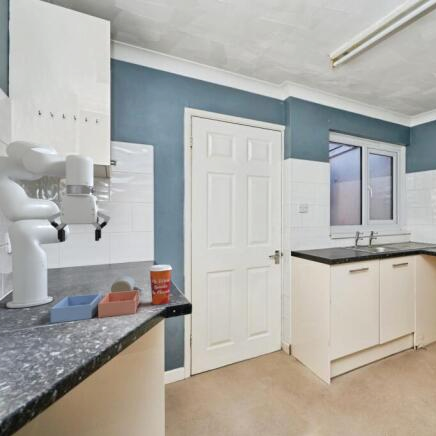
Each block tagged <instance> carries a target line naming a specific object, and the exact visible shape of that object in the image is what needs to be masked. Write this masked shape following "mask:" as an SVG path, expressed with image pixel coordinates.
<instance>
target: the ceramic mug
mask: <svg viewBox="0 0 436 436" xmlns="http://www.w3.org/2000/svg"><path fill="white" fill-rule="evenodd" d="M134 290H140V296H141V295H142V294H143V290H142V289H141V288H140V287H138V286H136V281H135V280H134V278H133V277H131V276H128V275H121V276H119V277H117V278H116V280H114V282H113V283H112V285H111V287H110V293H112V292H123V291H134Z"/></svg>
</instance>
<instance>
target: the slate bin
mask: <svg viewBox="0 0 436 436" xmlns="http://www.w3.org/2000/svg"><path fill="white" fill-rule="evenodd" d="M102 299H103V294H102V293H101V292H100V293H92V294H80V295H78V294H77V295H69V296H65V297H64V298H63V299H61V300H60V301H58V302H57V303H56V304H55V305H54V306H52V307H51V308H50V324H55V323H64V322H65V323H66V322H73V321H74V322H75V321H81V320H88V319H89V320H90V319H92V318H94V317H95V315H96V314H97V313H98V304H99V303H100V301H101V300H102ZM84 302H85V305H79V304H80V303H84Z"/></svg>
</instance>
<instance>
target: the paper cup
mask: <svg viewBox="0 0 436 436" xmlns="http://www.w3.org/2000/svg"><path fill="white" fill-rule="evenodd" d="M172 269H173V267H172V266H171V265H170V264H155V265H151V266H150V268H149V269H148V272H149V277H150V287H151V288H150V291H151V303H152V305H158V306H159V305H165V304H168V303H170V292H171V277H172Z"/></svg>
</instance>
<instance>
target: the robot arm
mask: <svg viewBox="0 0 436 436" xmlns="http://www.w3.org/2000/svg"><path fill="white" fill-rule="evenodd" d="M5 152H6V155H7V156H6V155H0V209H1V211H2V214H4V217H5V218H6V219H7V221H9V222H12V223H11V224H10V225H9V226H8V229H7V234H8V239H9V242H10V247H11V263H12V264H11V268H12V269H11V270H12V272H11V273H12V274H11V277H12V279H11V280H12V300H11V301H8V302H7V303H6V308H8V309H21V308H29V307H30V308H31V307H36V306H41V305H42V306H43V305H45V304H48V303H51V302H53V301H54V298H53V296H48V255H47V252H46V251H45V250H44V249H43V248H42V247H41V246H40V245H48V244H61V243H65V242H66V241H67V240H68V239H69V237H70V228H69V225H93V227H95V230H94V241H95V242H99V241H100V240H101V239H102V229H103V228H104V227H106V226H107V225H108V223H109V222H110V220H111V216H109V215H107V214H104V213H101V212H100V208H99V202H98V196H96V195H95V194H97V193H99V192H100V191H99V188H95V187H94V160H93V158H92V157H91V156H88V155H82V154H69V155H67V156H66V155H65V156H64V155H59V154H58V151H57V150H56V149H55V148H54V147H53V146H50V145H47V144H41V143H35V142H30V141H25V140H16V141H13V142H10V143H9V144H7V146H6V148H5ZM42 177H51V178H53V177H54V178H62V179H65V194H63V195H62V199H61V204H60V208H59V206H58V205H57V204H56V203H55V201H52V200H50V199H46V198H32V197H29V196H28V194H27V193H26V191H25V189H24V187H22V186H21V185H20V184H18V183H17V182H15V181H13V180H21V181H37V180H40V179H41V178H42ZM100 218H102V219H103V222H101V223H99V222H100Z"/></svg>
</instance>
